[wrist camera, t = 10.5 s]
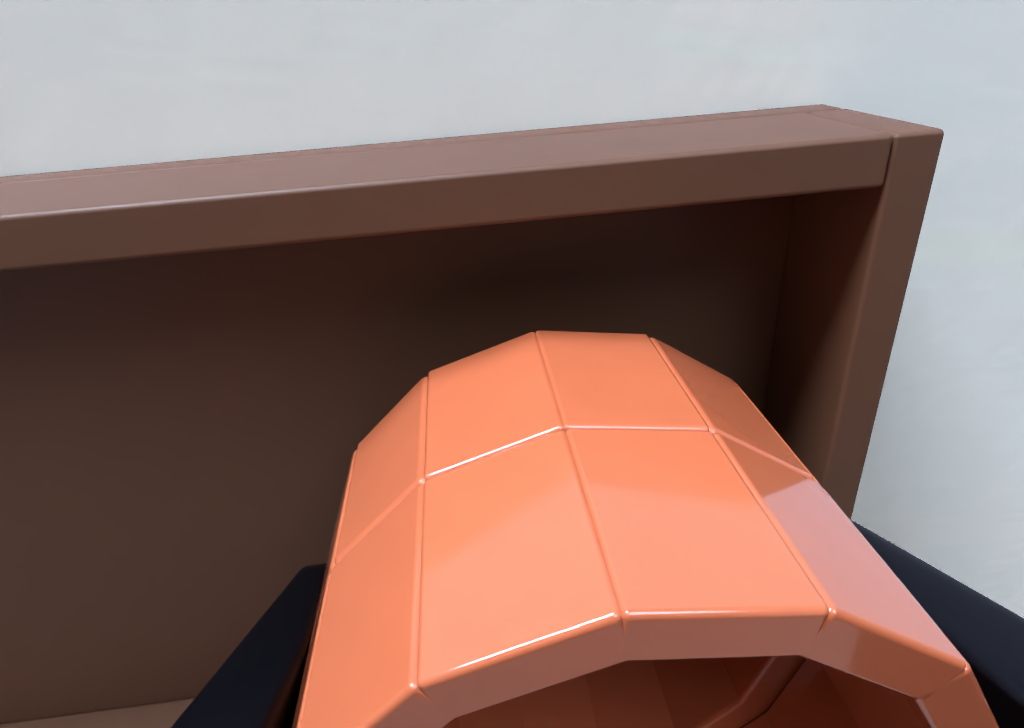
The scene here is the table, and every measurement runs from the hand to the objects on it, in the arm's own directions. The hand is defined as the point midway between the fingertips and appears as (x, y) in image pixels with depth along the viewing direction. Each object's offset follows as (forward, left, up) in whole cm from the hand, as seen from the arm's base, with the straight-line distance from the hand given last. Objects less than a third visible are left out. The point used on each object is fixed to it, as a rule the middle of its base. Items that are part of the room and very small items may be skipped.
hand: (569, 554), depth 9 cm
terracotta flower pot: (0, 0, -1) cm, 1 cm away
